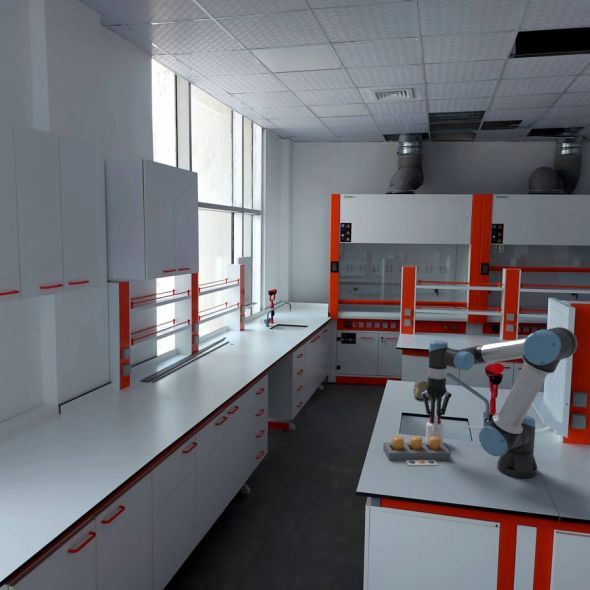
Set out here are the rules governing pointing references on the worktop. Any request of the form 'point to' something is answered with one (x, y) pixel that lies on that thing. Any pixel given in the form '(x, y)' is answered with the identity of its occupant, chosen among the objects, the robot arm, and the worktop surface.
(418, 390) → the rock
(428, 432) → the pill bottle
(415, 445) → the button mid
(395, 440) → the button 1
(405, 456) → the board
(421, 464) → the pattern card
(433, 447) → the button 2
